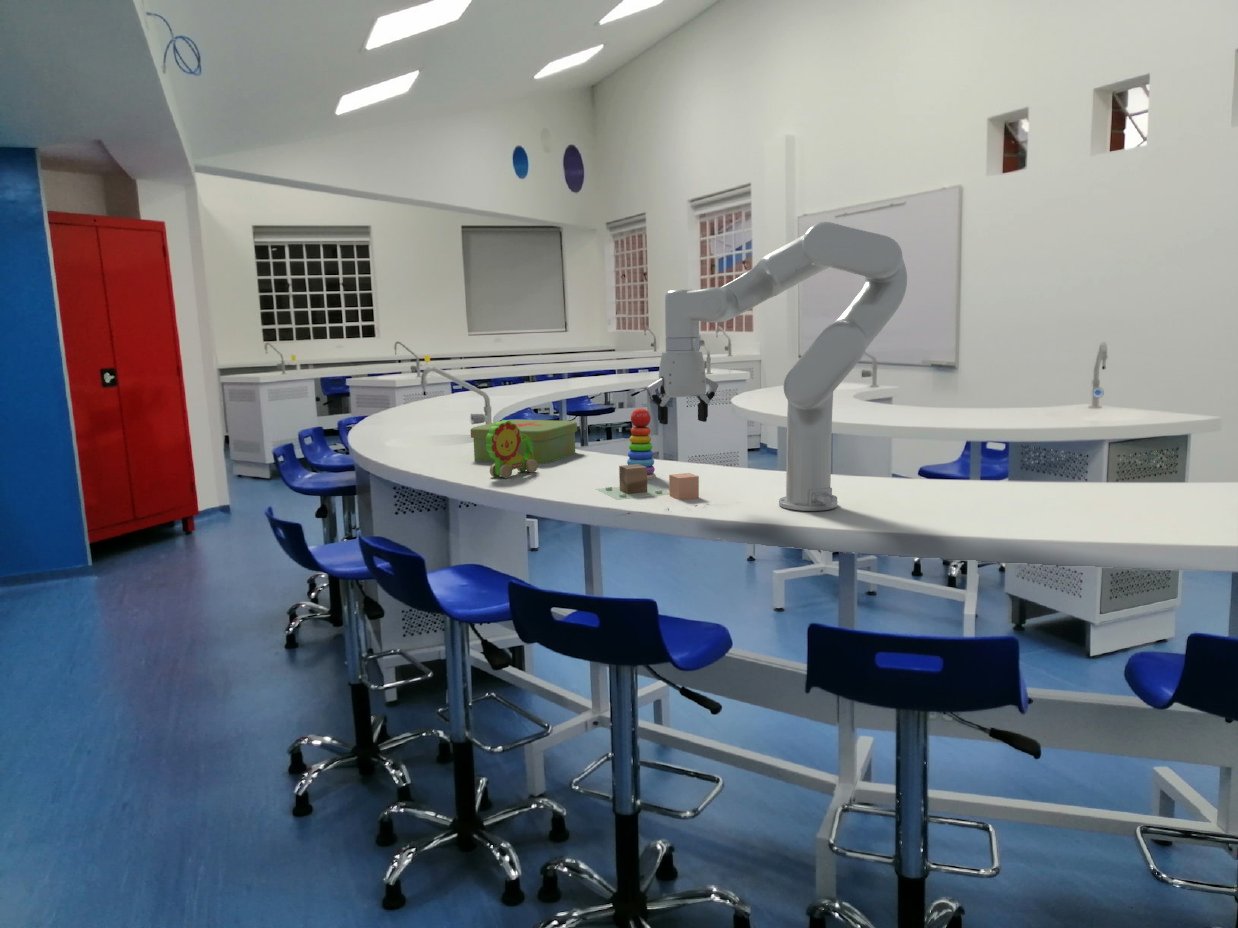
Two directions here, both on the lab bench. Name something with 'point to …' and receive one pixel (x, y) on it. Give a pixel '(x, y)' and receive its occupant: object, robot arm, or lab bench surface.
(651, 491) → the build plate
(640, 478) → the walnut block
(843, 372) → the robot arm
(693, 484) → the rust block
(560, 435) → the first aid kit
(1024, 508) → the lab bench surface
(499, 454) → the toy lion
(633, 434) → the stacking toy
